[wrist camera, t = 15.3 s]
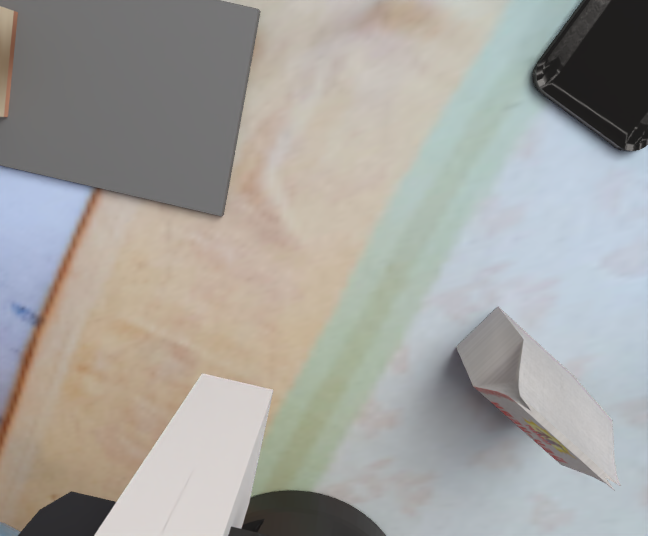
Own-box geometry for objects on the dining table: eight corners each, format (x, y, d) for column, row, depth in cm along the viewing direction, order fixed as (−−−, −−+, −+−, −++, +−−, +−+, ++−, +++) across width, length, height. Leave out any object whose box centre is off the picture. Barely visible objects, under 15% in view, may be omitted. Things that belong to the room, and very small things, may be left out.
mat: (223, 214, 36) (221, 216, 35) (-88, 143, 36) (-96, 143, 35) (260, 11, 33) (258, 9, 32) (-78, -66, 33) (-86, -69, 33)
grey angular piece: (498, 306, 36) (547, 370, 26) (573, 375, 37) (649, 462, 27) (455, 346, 37) (489, 423, 27) (530, 413, 37) (589, 511, 28)
